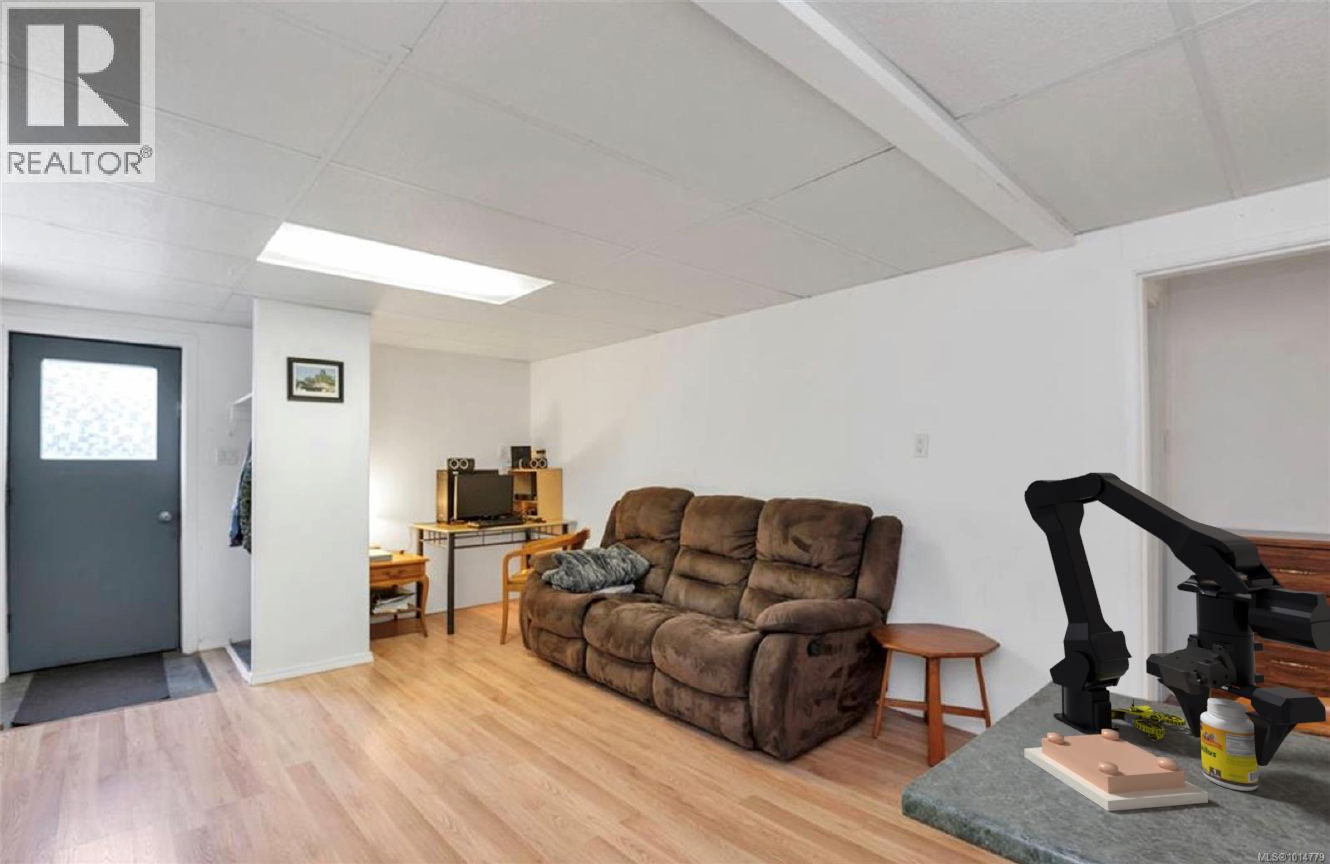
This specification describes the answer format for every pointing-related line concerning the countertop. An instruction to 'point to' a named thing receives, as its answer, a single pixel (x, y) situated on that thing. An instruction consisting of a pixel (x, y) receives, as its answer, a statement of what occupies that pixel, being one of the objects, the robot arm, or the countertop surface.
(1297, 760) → the countertop surface
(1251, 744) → the supplement bottle
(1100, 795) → the tower base
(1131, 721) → the toy motorcycle
